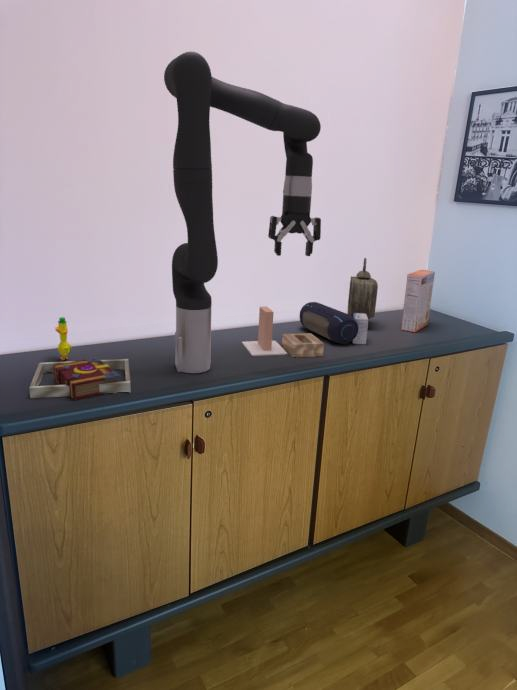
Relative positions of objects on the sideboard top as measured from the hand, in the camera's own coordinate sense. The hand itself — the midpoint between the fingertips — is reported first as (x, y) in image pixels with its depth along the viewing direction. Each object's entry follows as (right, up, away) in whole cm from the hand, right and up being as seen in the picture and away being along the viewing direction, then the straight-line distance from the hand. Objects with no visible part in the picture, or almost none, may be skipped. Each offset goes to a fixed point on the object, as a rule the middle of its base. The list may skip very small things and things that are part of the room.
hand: (293, 255), depth 140 cm
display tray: (-53, -34, -15) cm, 64 cm away
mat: (-8, -26, +17) cm, 32 cm away
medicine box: (+24, -23, +30) cm, 45 cm away
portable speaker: (+13, -22, +34) cm, 42 cm away
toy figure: (-63, -29, 0) cm, 69 cm away
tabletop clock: (+28, -18, +49) cm, 59 cm away
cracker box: (+48, -18, +49) cm, 72 cm away
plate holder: (+4, -27, +16) cm, 31 cm away
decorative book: (-52, -35, -16) cm, 64 cm away
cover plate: (-8, -25, +18) cm, 32 cm away
